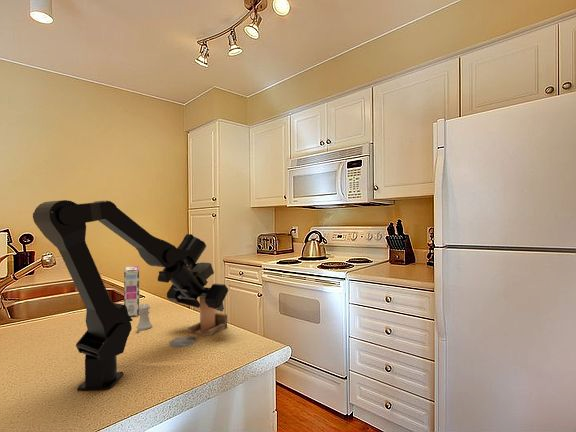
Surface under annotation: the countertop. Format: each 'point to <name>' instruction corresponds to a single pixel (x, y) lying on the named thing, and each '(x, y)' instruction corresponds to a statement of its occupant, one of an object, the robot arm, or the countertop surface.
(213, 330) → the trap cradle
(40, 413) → the countertop surface
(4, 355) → the countertop surface
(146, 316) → the rook chess piece
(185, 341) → the slate coaster
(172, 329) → the countertop surface
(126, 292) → the candy bar box
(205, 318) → the spice jar
